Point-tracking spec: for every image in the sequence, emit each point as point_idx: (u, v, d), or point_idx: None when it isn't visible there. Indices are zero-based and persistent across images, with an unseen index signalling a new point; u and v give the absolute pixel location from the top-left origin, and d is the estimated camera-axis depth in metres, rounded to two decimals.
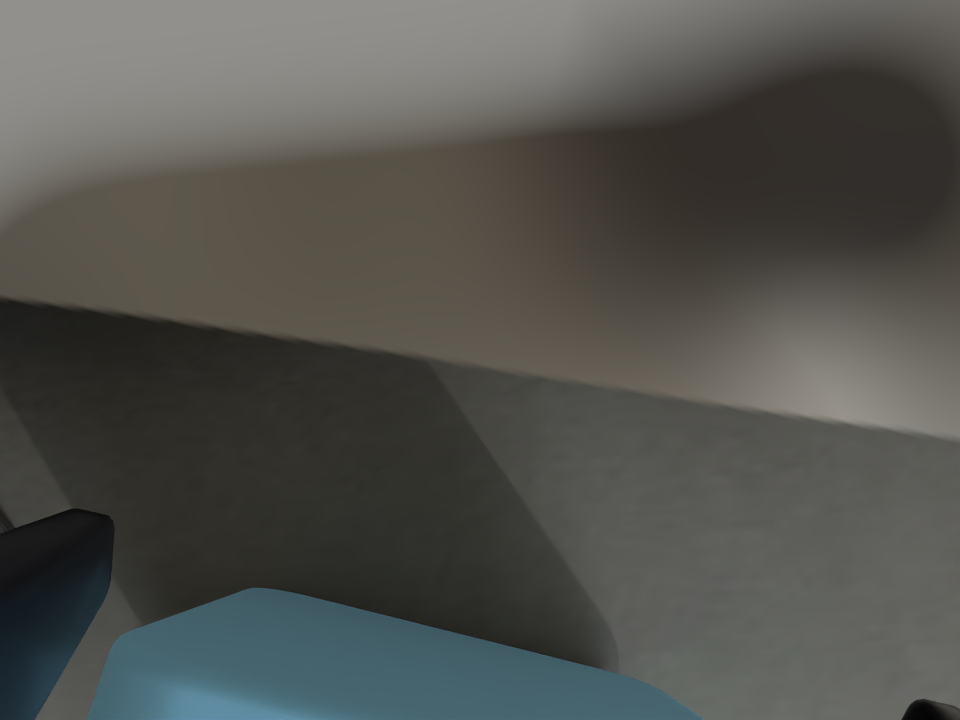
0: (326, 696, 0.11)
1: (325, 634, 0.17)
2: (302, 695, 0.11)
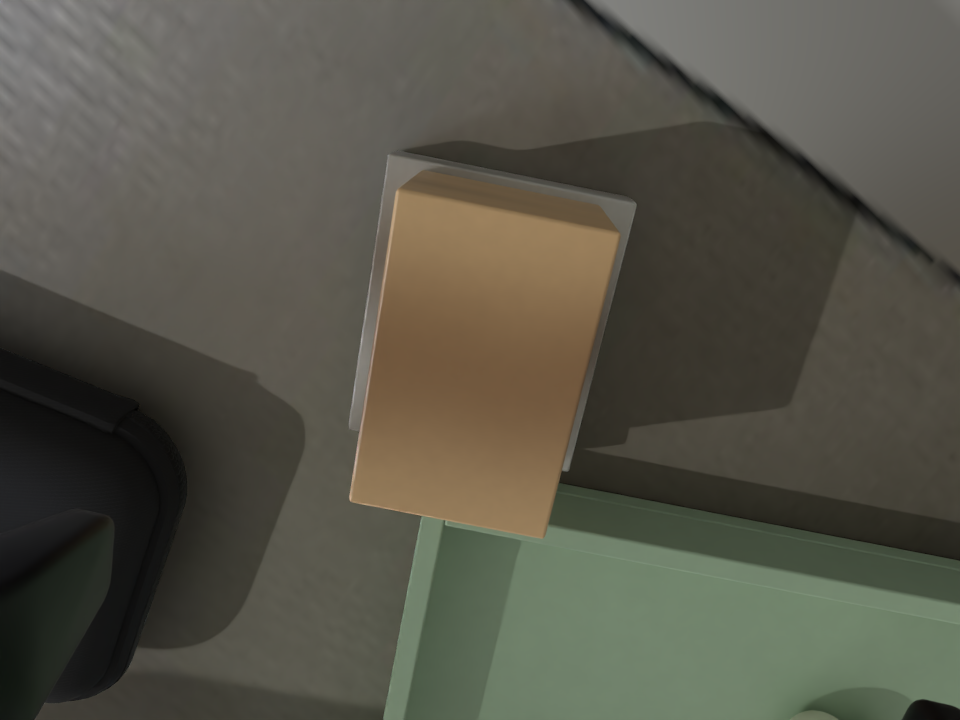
0: None
1: None
2: None
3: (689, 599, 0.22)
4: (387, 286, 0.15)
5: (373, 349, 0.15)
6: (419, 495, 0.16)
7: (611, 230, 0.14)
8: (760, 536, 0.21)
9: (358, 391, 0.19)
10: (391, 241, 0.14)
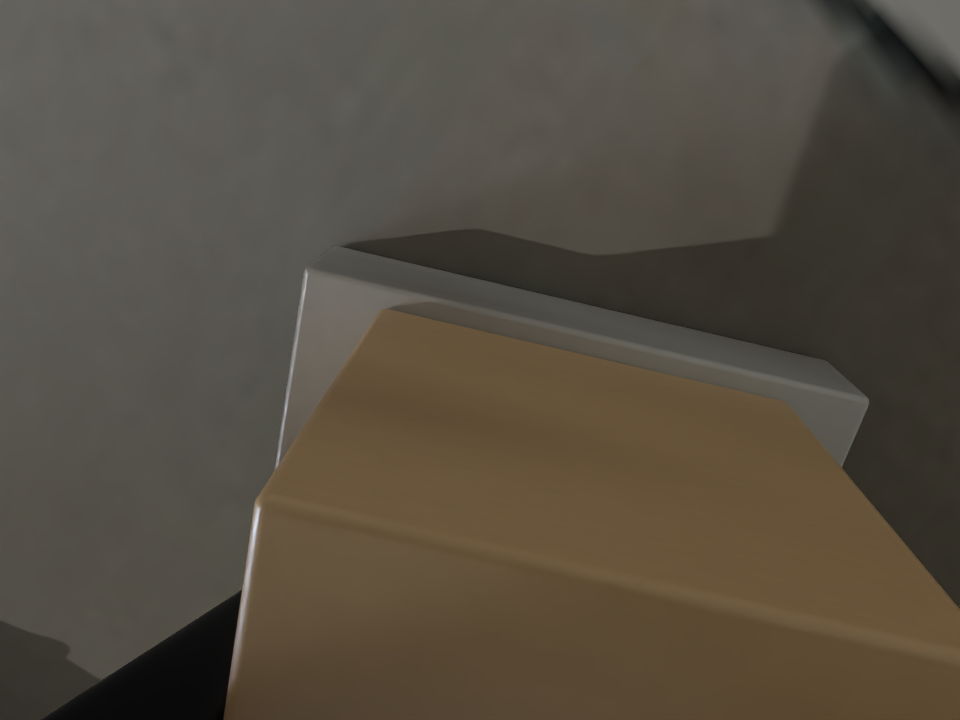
0: None
1: None
2: None
3: None
4: None
5: None
6: None
7: None
8: None
9: None
10: (243, 645, 0.04)
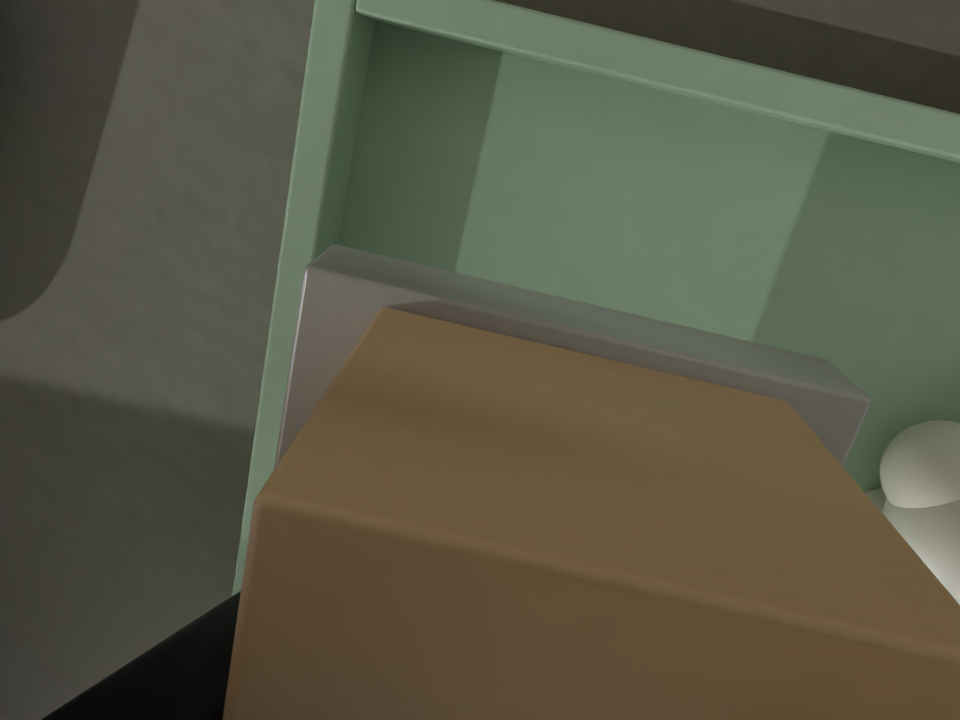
0: None
1: None
2: None
3: (750, 231, 0.14)
4: None
5: None
6: None
7: None
8: None
9: None
10: (242, 644, 0.04)
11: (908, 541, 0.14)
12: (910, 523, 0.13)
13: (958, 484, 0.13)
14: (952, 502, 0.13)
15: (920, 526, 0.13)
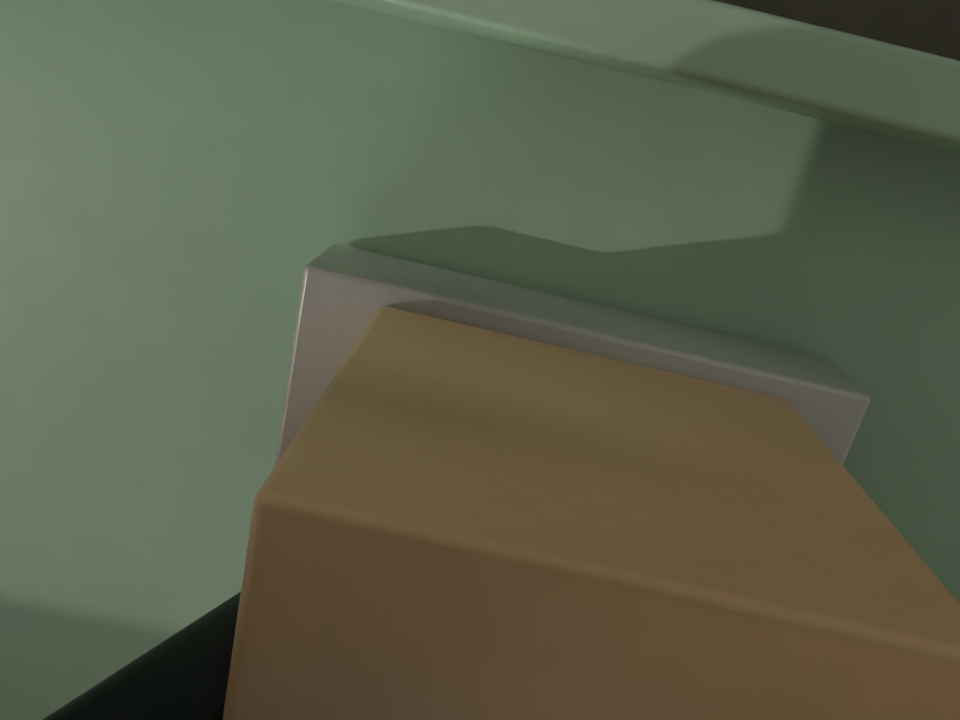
0: None
1: None
2: None
3: (136, 145, 0.09)
4: None
5: None
6: None
7: None
8: None
9: None
10: (242, 642, 0.04)
11: None
12: None
13: None
14: None
15: None
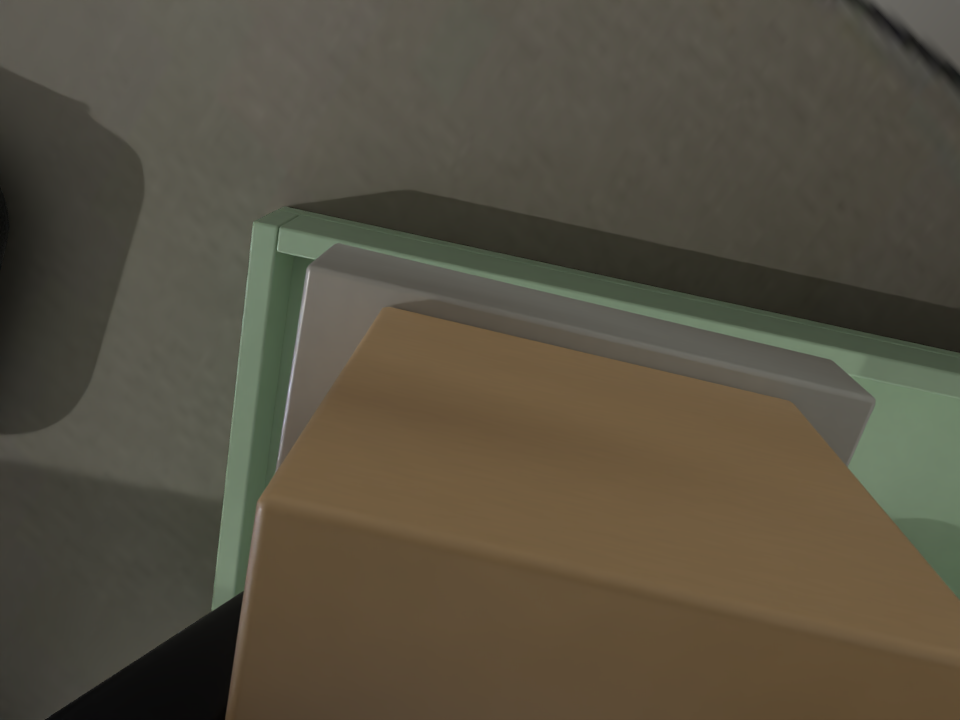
0: None
1: None
2: None
3: None
4: None
5: None
6: None
7: None
8: (630, 288, 0.19)
9: None
10: (244, 647, 0.04)
11: None
12: None
13: None
14: None
15: None
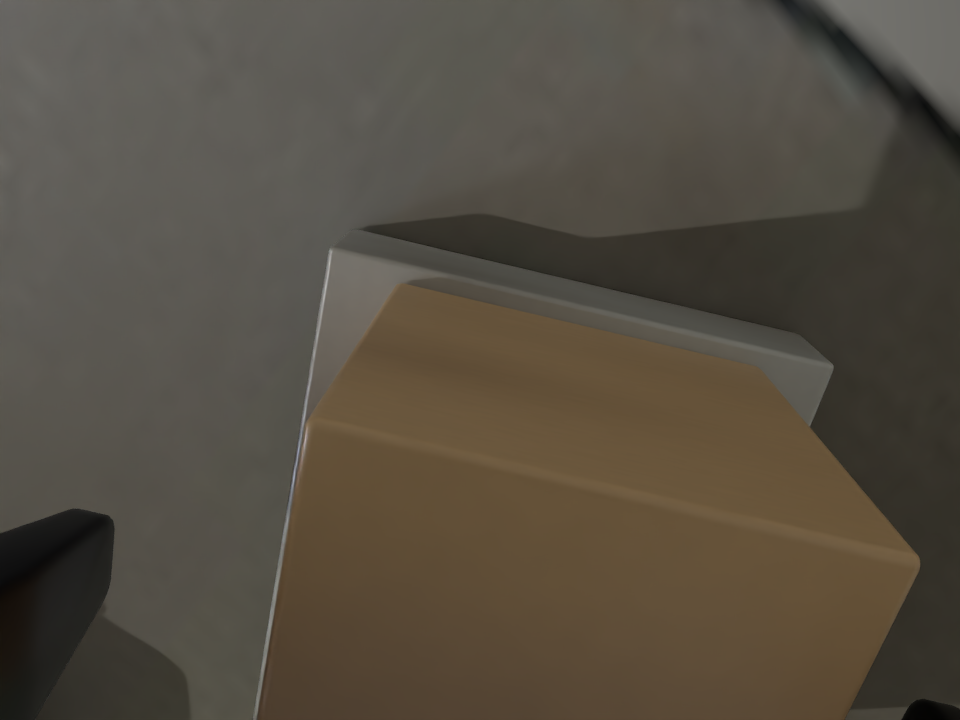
0: None
1: None
2: None
3: None
4: (283, 646, 0.06)
5: None
6: None
7: (894, 548, 0.05)
8: None
9: None
10: (292, 547, 0.05)
11: None
12: None
13: None
14: None
15: None
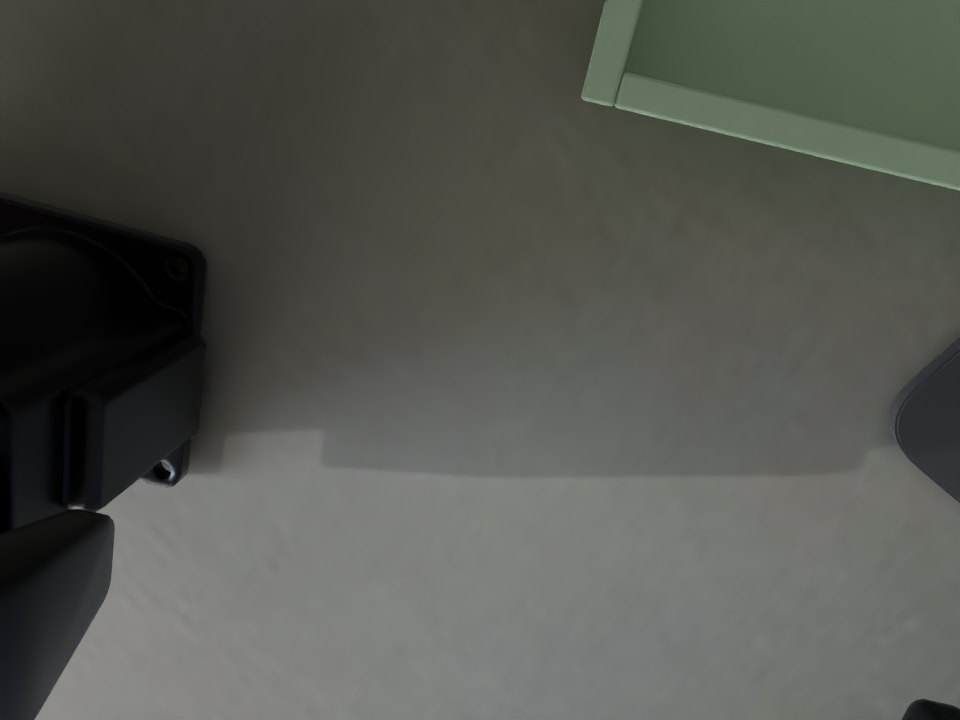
0: None
1: None
2: None
3: None
4: None
5: None
6: None
7: None
8: None
9: None
10: None
11: None
12: None
13: None
14: None
15: None
